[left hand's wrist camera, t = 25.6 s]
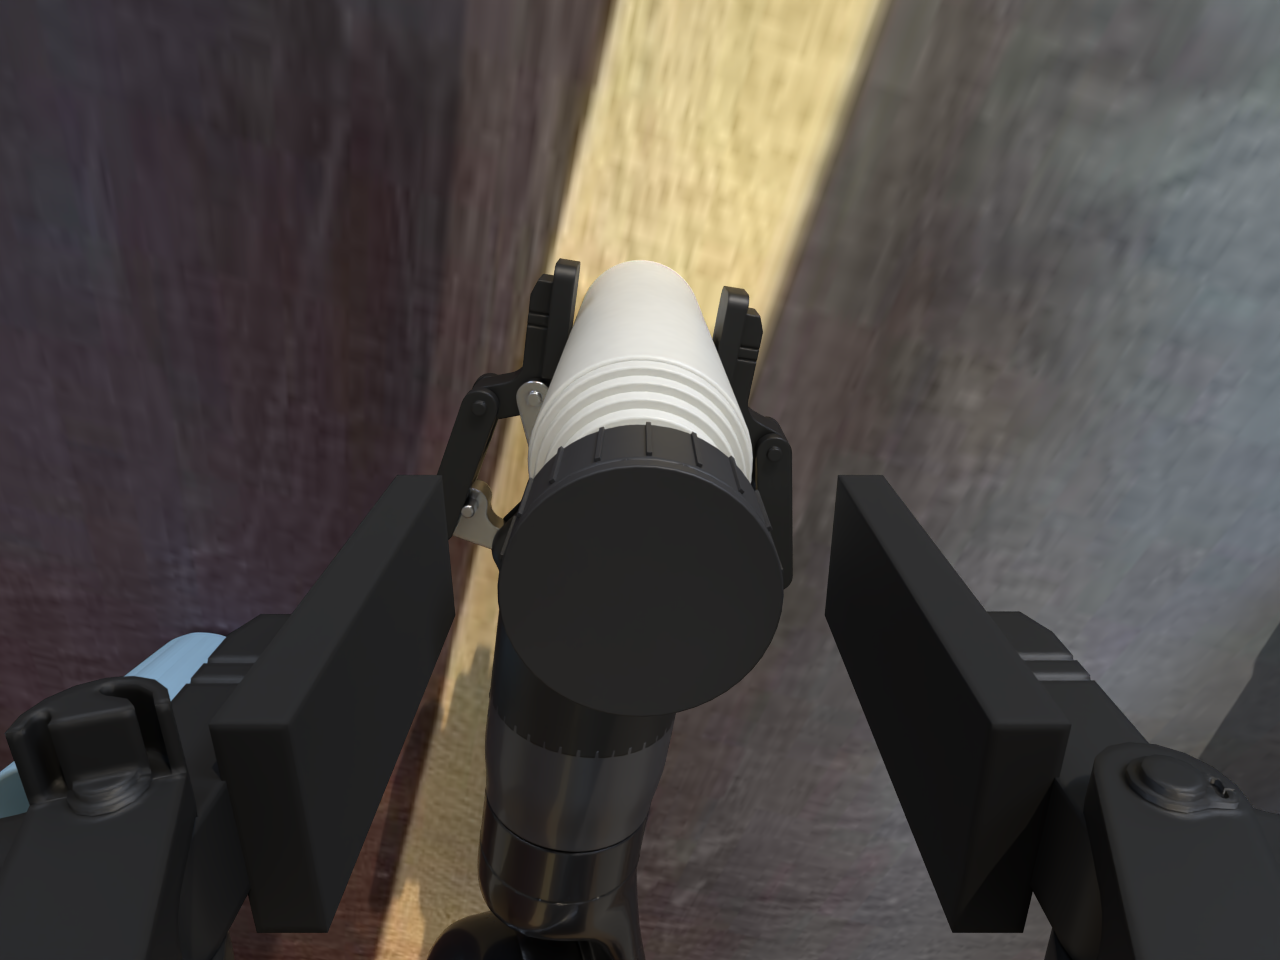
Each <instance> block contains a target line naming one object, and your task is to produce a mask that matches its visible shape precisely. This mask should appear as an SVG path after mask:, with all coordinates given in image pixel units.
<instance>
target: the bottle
mask: <svg viewBox="0 0 1280 960" xmlns="http://www.w3.org/2000/svg"><path fill="white" fill-rule="evenodd" d="M646 422H651V425H656V426H663V427H669V428H673V429H677V430H681V431H683V432H687V433H689V434H691V433H692V432H695V433H697V437H698V438H701V439H703V440H705V441H706V442H708V443H710V444H711V445H713V446H714V447H716V448H718V449H719V450H720V451H721V452H723V453H724V454H725V455H726V456H728V457H730V456H733V457H734V459H735V462H736V465H737V466H738V467H739V468H740V470H741V471H742V472H743V474H744V475H745V476H746V478H747V479H748V481H749V482H750V483H751V477H752V463H753V455H752V444H751V440H750V436H749V431H748V428H747V426H746V423H745V421H744V418H743V416H742V413H741V410H740V408H739V405H738V403H737V400H736V398H735V395H734V393H733V390H732V388H731V385H730V383H729V380H728V378H727V375H726V373H725V370H724V368H723V365H722V363H721V360H720V357H719V355H718V352H717V350H716V347H715V345H714V342H713V340H712V337H711V335H710V332H709V330H708V327H707V325H706V322H705V320H704V317H703V315H702V312H701V309H700V307H699V304H698V302H697V299H696V297H695V294H694V293H693V291H692V289H691V287H690V286H689V285H688V283H687V282H686V281H685V280H684V279H683V278H682V277H681V276H680V275H679V274H678V273H677V272H675V271H674V270H672V269H671V268H669V267H667V266H665V265H662V264H660V263H657V262H653V261H646V260H634V261H627V262H623V263H620V264H618V265H615V266H613V267H611V268H609V269H608V270H606V271H605V272H604V273H602V274H601V275H600V276H599V277H598V278H597V279H596V280H595V281H594V282H593V283H592V285H591V286H590V287H589V289H588V291H587V293H586V295H585V297H584V299H583V302H582V305H581V307H580V310H579V312H578V315H577V317H576V320H575V322H574V325H573V328H572V330H571V333H570V335H569V338H568V340H567V343H566V345H565V348H564V350H563V353H562V356H561V358H560V361H559V363H558V366H557V368H556V371H555V373H554V376H553V379H552V381H551V384H550V386H549V389H548V391H547V394H546V396H545V399H544V402H543V404H542V407H541V409H540V412H539V414H538V417H537V419H536V422H535V425H534V427H533V430H532V434H531V438H530V442H529V450H528V471H529V479H530V477H531V478H533V479H534V477H535V476H536V475H537V473H538V472H539V471H540V470H541V469H542V467H543V466H544V465H545V464H546V463H547V462H548V461H549V460H550V459H551V458H552V457H553V456H555V455H556V454H557V451H558V448H559V447H561V446H562V447H563V448H565V447H567V446H568V445H570V444H571V443H573V442H575V441H577V440H578V439H581V438H582V437H585V436H586V435H589V434H592V433H595V432H598V431H599V428H600V427H604V428H605V429H608V428H613V427H617V426H624V425H646Z"/></svg>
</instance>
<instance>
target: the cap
mask: <svg viewBox="0 0 1280 960" xmlns="http://www.w3.org/2000/svg"><path fill="white" fill-rule="evenodd" d="M770 531H772V527H771V524H770V521H769V518H768V516H767V513H766V510H765V507H764V504H763V501H762V499H761V496H760V493H759V491H758V490H756V491H754V489H753V487H752V485H751V483H750V482H749V481H748V479H747V478H746V476H745V475H744V474H743V472H742V471H741V470H740V468H739V467H738V466H737V465H736V462H735V459H734V457H733V456H730V457H728V456H726V455H725V454H724V453H723V452H721V451H720V450H719V449H718V448H716V447H714V446H713V445H711V444H710V443H708V442H706V441H705V440H703V439H701V438H698V437H697V433H695V432H692V433H691V434H689V433H687V432H683V431H681V430H677V429H673V428H669V427H663V426H656V425H651V422H646V425H624V426H617V427H613V428H608V429H605V428H604V427H600V428H599V431H598V432H595V433H592V434H589V435H586V436H585V437H582V438H581V439H578V440H577V441H575V442H573V443H571V444H570V445H568V446H567V447H565V448H563V447H562V446H561V447H559V448H558V451H557V454H556V455H555V456H553V457H552V458H551V459H550V460H549V461H548V462H547V463H546V464H545V465H544V466H543V467H542V469H541V470H540V471H539V472H538V473H537V475H536V476H535V477H534V479H533V478H531V477H530V479H529V480H528V483H527V486H526V489H525V491H524V494H523V497H522V500H521V503H520V506H519V509H518V512H517V515H516V516H513V519H512V522H511V525H510V528H509V531H508V534H507V536H506V539H505V542H504V545H503V548H502V551H501V554H500V559H502V562H501V566H500V570H499V578H498V604H499V610H500V616H501V620H502V623H503V626H504V629H505V632H506V634H507V636H508V638H509V640H510V642H511V644H512V646H513V648H514V650H515V651H516V653H517V654H518V656H519V657H520V659H521V660H522V662H523V663H524V664H525V665H526V666H527V667H528V669H529V670H530V671H531V672H532V673H533V674H534V675H535V676H536V677H537V678H538V679H539V680H541V681H542V682H543V683H544V684H545V685H546V686H548V687H549V688H551V689H552V690H554V691H555V692H557V693H558V694H560V695H561V696H563V697H565V698H567V699H569V700H571V701H573V702H575V703H577V704H579V705H582V706H585V707H587V708H590V709H593V710H597V711H601V712H604V713H608V714H615V715H622V716H637V717H647V716H660V715H666V714H672V713H677V712H681V711H684V710H688V709H691V708H694V707H697V706H699V705H701V704H704V703H706V702H708V701H711V700H713V699H714V698H716V697H718V696H719V695H721V694H723V693H725V692H726V691H728V690H729V689H730V688H732V687H733V686H734V685H736V684H737V683H738V682H740V681H741V680H742V679H743V678H744V677H745V676H746V675H747V674H748V673H749V672H750V671H751V670H752V669H753V668H754V666H755V665H756V664H757V663H758V661H759V660H760V659H761V658H762V656H763V655H764V653H765V651H766V650H767V648H768V646H769V645H770V643H771V641H772V639H773V636H774V634H775V632H776V629H777V627H778V623H779V619H780V615H781V612H782V604H783V576H782V574H783V568H782V565H781V562H780V559H779V556H778V554H777V551H776V548H775V545H774V542H773V539H772V536H771V533H770Z"/></svg>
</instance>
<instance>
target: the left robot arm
mask: <svg viewBox="0 0 1280 960" xmlns="http://www.w3.org/2000/svg"><path fill="white" fill-rule="evenodd" d="M454 617H455V608H454V597H453V587H452V576H451V566H450V555H449V544H448V534H447V523H446V513H445V502H444V492H443V481H442V475H397V476H396V478H395V479H394V480H393V482H392V483H391V484H390V485H389V487H388V488H387V489H386V491H385V492H384V493H383V495H382V496H381V497H380V499H379V500H378V501H377V503H376V504H375V505H374V507H373V508H372V509H371V510H370V512H369V513H368V514H367V516H366V517H365V518H364V520H363V521H362V522H361V524H360V525H359V526H358V528H357V529H356V530H355V532H354V533H353V534H352V535H351V537H350V538H349V539H348V541H347V542H346V543H345V545H344V546H343V547H342V549H341V550H340V551H339V553H338V554H337V555H336V557H335V558H334V559H333V560H332V562H331V563H330V564H329V566H328V567H327V568H326V570H325V571H324V572H323V574H322V575H321V576H320V578H319V579H318V580H317V582H316V583H315V584H314V586H313V587H312V588H311V589H310V591H309V592H308V593H307V595H306V596H305V597H304V599H303V600H302V601H301V603H300V604H299V605H298V607H297V608H296V609H295V611H294V612H293V613H292V614H260V615H259V616H257V617H256V618H254V619H252V620H251V621H249V622H248V623H246V624H244V625H243V626H241V627H240V628H238V629H236V630H235V631H233V632H232V633H230V634H228V635H227V637H226V638H225V639H224V640H223V641H222V642H221V644H220V645H219V646H218V647H217V648H216V649H215V651H214V652H213V653H212V654H211V655H210V656H209V658H208V662H207V663H203V664H202V666H201V667H200V668H199V669H198V670H197V671H196V673H195V674H194V675H193V676H192V677H191V682H190V683H186V684H185V685H184V687H183V688H182V689H181V690H180V691H179V692H178V694H177V695H176V696H175V697H174V698H173V699H172V701H171V700H170V696H169V692H168V689H167V688H166V687H165V686H163V685H162V684H160V683H159V682H158V681H156V680H155V679H150V678H144V677H138V676H124V677H111V678H104V679H100V680H96V681H92V682H88V683H84V684H80V685H77V686H74V687H71V688H69V689H67V690H64V691H62V692H60V693H58V694H55V695H53V696H51V697H48V698H46V699H44V700H43V701H41V702H40V703H38V704H37V705H35V706H34V707H32V708H31V709H29V710H28V711H26V712H25V713H23V714H22V715H20V716H19V717H18V719H17V720H16V721H15V722H14V723H13V724H12V725H11V727H10V728H9V729H8V730H7V731H6V732H5V736H6V739H7V742H8V745H9V747H10V750H11V753H12V756H13V759H14V762H15V765H16V768H17V770H18V773H19V776H20V779H21V782H22V785H23V788H24V791H25V794H26V796H27V799H28V802H29V805H30V806H29V808H28V810H27V812H25V813H21V814H18V815H13V816H9V817H4V818H0V960H234V954H233V947H232V943H231V939H230V935H229V931H228V930H229V928H230V927H231V925H232V923H233V921H234V919H235V917H236V915H237V913H238V911H239V910H240V908H241V906H242V904H243V902H244V900H245V898H246V896H247V895H248V896H249V901H250V905H251V909H252V914H253V918H254V922H255V926H256V931H257V933H328V930H329V928H330V925H331V923H332V920H333V918H334V915H335V913H336V910H337V908H338V905H339V903H340V900H341V898H342V895H343V893H344V890H345V888H346V885H347V883H348V880H349V878H350V876H351V873H352V871H353V868H354V866H355V863H356V861H357V858H358V856H359V853H360V851H361V848H362V846H363V843H364V841H365V838H366V836H367V833H368V831H369V828H370V826H371V823H372V821H373V818H374V816H375V813H376V811H377V808H378V806H379V803H380V801H381V798H382V796H383V793H384V791H385V788H386V786H387V784H388V781H389V779H390V776H391V774H392V771H393V769H394V766H395V764H396V761H397V759H398V756H399V754H400V751H401V749H402V746H403V744H404V741H405V739H406V736H407V734H408V731H409V729H410V726H411V724H412V721H413V719H414V716H415V714H416V711H417V709H418V706H419V704H420V701H421V699H422V696H423V694H424V692H425V689H426V687H427V684H428V682H429V679H430V677H431V674H432V672H433V669H434V667H435V664H436V662H437V659H438V657H439V654H440V652H441V649H442V647H443V644H444V642H445V639H446V637H447V634H448V632H449V629H450V627H451V624H452V622H453V619H454ZM825 617H826V619H827V622H828V624H829V627H830V629H831V632H832V634H833V637H834V639H835V642H836V644H837V647H838V649H839V652H840V654H841V657H842V659H843V662H844V664H845V667H846V669H847V672H848V674H849V677H850V679H851V682H852V684H853V687H854V689H855V692H856V694H857V696H858V699H859V701H860V704H861V706H862V709H863V711H864V714H865V716H866V719H867V721H868V724H869V726H870V729H871V731H872V734H873V736H874V739H875V741H876V744H877V746H878V749H879V751H880V754H881V756H882V759H883V761H884V764H885V766H886V769H887V771H888V774H889V776H890V779H891V781H892V784H893V786H894V788H895V791H896V793H897V796H898V798H899V801H900V803H901V806H902V808H903V811H904V813H905V816H906V818H907V821H908V823H909V826H910V828H911V831H912V833H913V836H914V838H915V841H916V843H917V846H918V848H919V851H920V853H921V856H922V858H923V861H924V863H925V866H926V868H927V871H928V873H929V876H930V878H931V880H932V883H933V885H934V888H935V890H936V893H937V895H938V898H939V900H940V903H941V905H942V908H943V910H944V913H945V915H946V918H947V920H948V923H949V925H950V928H951V930H952V933H1023V931H1024V926H1025V922H1026V918H1027V914H1028V909H1029V905H1030V901H1031V896H1032V892H1034V894H1035V896H1036V898H1037V900H1038V902H1039V903H1040V905H1041V907H1042V909H1043V911H1044V913H1045V915H1046V917H1047V918H1048V920H1049V922H1050V924H1051V926H1052V931H1051V935H1050V939H1049V943H1048V947H1047V951H1046V955H1045V959H1044V960H1280V815H1279V814H1274V813H1270V812H1265V811H1261V810H1258V809H1254V808H1252V806H1251V804H1250V803H1249V801H1248V800H1247V799H1246V797H1245V796H1244V795H1243V793H1242V792H1241V791H1240V789H1239V788H1238V787H1237V785H1236V784H1234V783H1233V782H1232V781H1230V780H1229V779H1228V778H1227V777H1225V776H1224V775H1223V774H1221V773H1220V772H1219V771H1217V770H1216V769H1215V768H1214V767H1212V766H1210V765H1208V764H1206V763H1204V762H1202V761H1200V760H1198V759H1196V758H1194V757H1192V756H1190V755H1188V754H1186V753H1183V752H1179V751H1176V750H1173V749H1169V748H1166V747H1163V746H1159V745H1156V744H1149V743H1148V742H1147V741H1146V739H1145V738H1144V737H1143V736H1142V735H1141V734H1140V732H1139V731H1138V730H1137V729H1136V728H1135V727H1134V726H1133V724H1132V723H1131V722H1130V721H1129V720H1128V719H1127V717H1126V716H1125V715H1124V714H1123V713H1122V712H1121V711H1120V709H1119V708H1118V707H1117V706H1116V705H1115V704H1114V702H1113V701H1112V700H1111V699H1110V698H1109V697H1108V696H1107V694H1106V693H1105V692H1104V691H1103V690H1102V689H1101V687H1100V686H1099V685H1098V684H1097V683H1096V682H1095V681H1091V680H1090V675H1089V674H1088V672H1087V671H1086V670H1085V669H1084V668H1083V667H1082V666H1081V664H1080V663H1079V662H1078V661H1077V660H1073V655H1072V654H1071V653H1070V652H1069V651H1068V649H1067V648H1066V647H1065V646H1064V645H1063V644H1062V642H1061V641H1060V640H1059V639H1058V638H1057V637H1056V635H1055V634H1054V633H1053V632H1052V631H1050V630H1049V629H1047V628H1045V627H1044V626H1042V625H1040V624H1039V623H1037V622H1036V621H1034V620H1032V619H1031V618H1029V617H1028V616H1026V615H1024V614H1023V613H1021V612H986V611H985V609H984V608H983V607H982V605H981V604H980V603H979V601H978V600H977V599H976V597H975V596H974V595H973V593H972V592H971V591H970V589H969V588H968V587H967V586H966V584H965V583H964V582H963V580H962V579H961V578H960V576H959V575H958V574H957V572H956V571H955V570H954V568H953V567H952V566H951V564H950V563H949V562H948V560H947V559H946V558H945V557H944V555H943V554H942V553H941V551H940V550H939V549H938V547H937V546H936V545H935V543H934V542H933V541H932V539H931V538H930V537H929V535H928V534H927V533H926V532H925V530H924V529H923V528H922V526H921V525H920V524H919V522H918V521H917V520H916V518H915V517H914V516H913V514H912V513H911V512H910V510H909V509H908V508H907V507H906V505H905V504H904V503H903V501H902V500H901V499H900V497H899V496H898V495H897V493H896V492H895V491H894V489H893V488H892V487H891V485H890V484H889V483H888V482H887V480H886V479H885V478H884V476H883V475H838V481H837V492H836V502H835V513H834V523H833V534H832V544H831V555H830V566H829V576H828V587H827V597H826V608H825Z"/></svg>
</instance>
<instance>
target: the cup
mask: <svg viewBox="0 0 1280 960" xmlns="http://www.w3.org/2000/svg"><path fill="white" fill-rule="evenodd" d="M225 638H226V637H225V636H222V635H219V634H212V633H201V632H197V633H190V634H186V635H183V636H180V637H177V638H175V639H173V640H171V641H170V642H168V643H167V644H166V645H164V646H163V647H162V648H160V649H159V650H158V651H156V652H155V653H154V654H152V655H151V656H150V657H148V658H147V659H146V660H145V661H143V662H142V663H141V664H139V665H138V666H137V667H136V668H134V669H133V670H132V671H130V672H129V673H128V674H127V675H125V676H138V677H144V678H150V679H155V680H156V681H158V682H159V683H160V684H162V685H163V686H165V687H166V688H167V689H168V692H169V696H170V700H171V701H172V699H173V698H174V697H175V696H176V695H177V694H178V692H179V691H180V690H181V689H182V688H183V687H184V685H185V684H186V683H190V682H191V677H192V676H193V675H194V674H195V673H196V671H197V670H198V669H199V668H200V667H201V666H202V664H203V663H207V662H208V658H209V656H210V655H211V654H212V653H213V652H214V651H215V649H216V648H217V647H218V646H219V645H220V644H221V642H222V641H223V640H224V639H225ZM29 806H30V805H29V802H28V799H27V796H26V794H25V791H24V788H23V785H22V782H21V779H20V776H19V773H18V770H17V768H16V765H15V762H12V763H11V764H10V765H9V766H7V767H6V768H5V769H3V770H2V771H1V772H0V818H4V817H9V816H13V815H18V814H21V813H25V812H27V810H28V808H29Z"/></svg>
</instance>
